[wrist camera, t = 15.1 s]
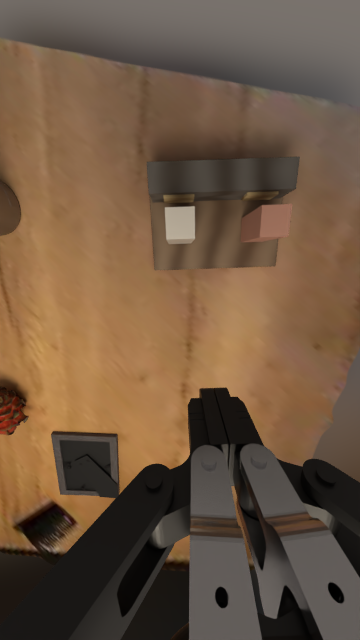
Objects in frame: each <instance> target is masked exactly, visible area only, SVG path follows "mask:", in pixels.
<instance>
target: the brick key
mask: <svg viewBox="0 0 360 640" xmlns="http://www.w3.org/2000/svg"><path fill="white" fill-rule="evenodd" d="M291 210H292V204H280V205H262V206H260V207H258V208H257V209H255V210H254V211H252V212H251V213H249V214H248V215H246V216H244V217H243V218H242V222H241V241H240V242H264V241H268V240H273V239H278V238H283V237H288V236H289V227H290V219H291Z"/></svg>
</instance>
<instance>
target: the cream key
mask: <svg viewBox="0 0 360 640" xmlns="http://www.w3.org/2000/svg"><path fill="white" fill-rule="evenodd" d="M165 223H166V240H167V242H168V243H169V244H189V243H192V242H193V241H194V239H195V206H190V207H165Z"/></svg>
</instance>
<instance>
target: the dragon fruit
mask: <svg viewBox="0 0 360 640" xmlns="http://www.w3.org/2000/svg"><path fill="white" fill-rule="evenodd" d="M24 406H26V403H25V402H24V401H23V399H19V396H18V395H17V394H16V393H15V391H13V390H11V391H7V389H6V388H5V387H0V434H5V435H12V434H13V433H14V430H15V429H16V426H18V425H20V424H19V423H20V422H21V421H23V420H24V421H23V422H24V423H25V422H26V420H27V419H28V417H29V416H25V415H24V414H23V413H22V412H21V411H20V409H21V408H23V407H24Z"/></svg>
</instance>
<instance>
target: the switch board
mask: <svg viewBox="0 0 360 640" xmlns="http://www.w3.org/2000/svg"><path fill="white" fill-rule="evenodd" d="M299 158H300V157H278V158H248V159H219V160H189V161H160V162H147V174H148V188H149V195H150V210H151V225H152V240H153V254H154V269H155V270H179V269H208V268H238V267H268V266H276V256H277V247H278V239H273V240H268V241H264V242H240V241H241V222H242V218H243V217H244V216H246V215H248V214H249V213H251V212H252V211H254V210H255V209H257V208H258V207H260V206H262V205H280V204H282V198H283V196H284V195H286V194H288V193H289V192H291V191H293V190H294V189H296V183H297V175H298V167H299ZM190 206H195V239H194V241H193V242H192V243H189V244H169V243H168V242H167V240H166V223H165V207H190Z"/></svg>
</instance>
